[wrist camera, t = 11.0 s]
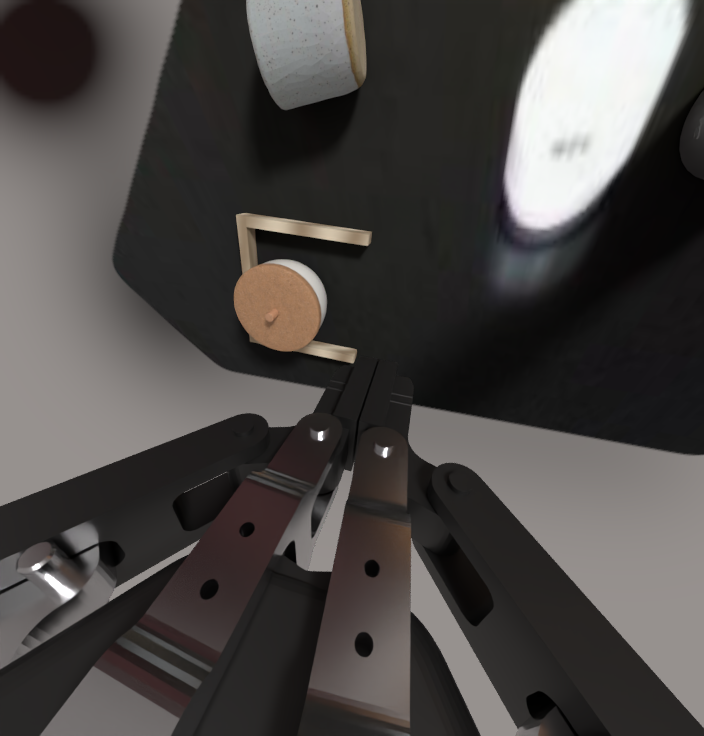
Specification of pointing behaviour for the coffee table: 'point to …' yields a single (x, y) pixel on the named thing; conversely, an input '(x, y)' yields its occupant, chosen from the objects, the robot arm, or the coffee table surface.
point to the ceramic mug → (308, 48)
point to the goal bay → (340, 234)
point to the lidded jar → (281, 304)
